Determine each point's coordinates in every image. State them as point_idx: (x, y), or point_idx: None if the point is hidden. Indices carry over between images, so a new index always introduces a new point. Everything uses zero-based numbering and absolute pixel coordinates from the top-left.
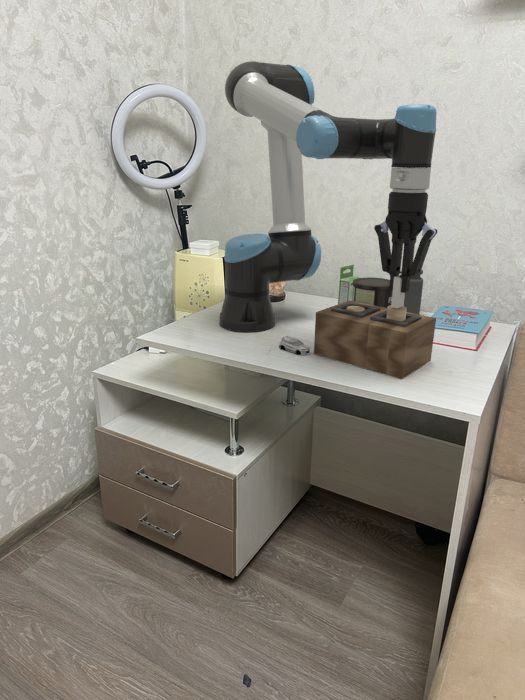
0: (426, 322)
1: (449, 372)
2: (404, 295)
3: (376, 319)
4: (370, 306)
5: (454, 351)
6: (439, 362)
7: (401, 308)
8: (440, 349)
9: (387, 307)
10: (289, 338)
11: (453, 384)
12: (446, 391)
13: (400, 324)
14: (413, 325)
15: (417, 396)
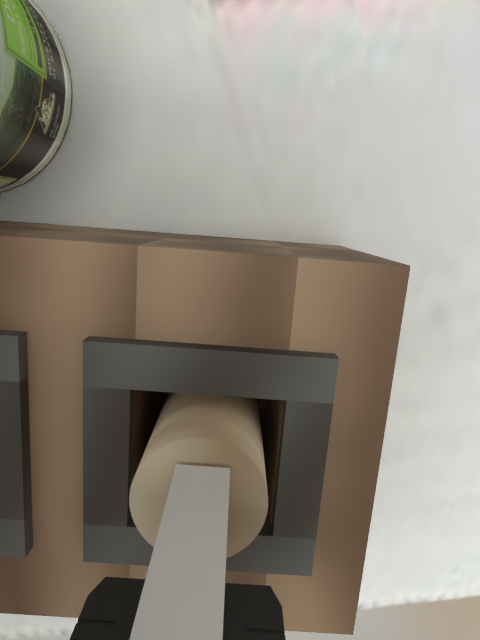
0: (385, 404)
1: (438, 323)
2: (227, 526)
3: (128, 559)
4: None
5: (398, 45)
6: (377, 240)
7: (234, 504)
8: (333, 60)
9: (140, 532)
10: None
11: (475, 422)
12: (467, 488)
13: (284, 571)
14: (338, 504)
15: (398, 569)
